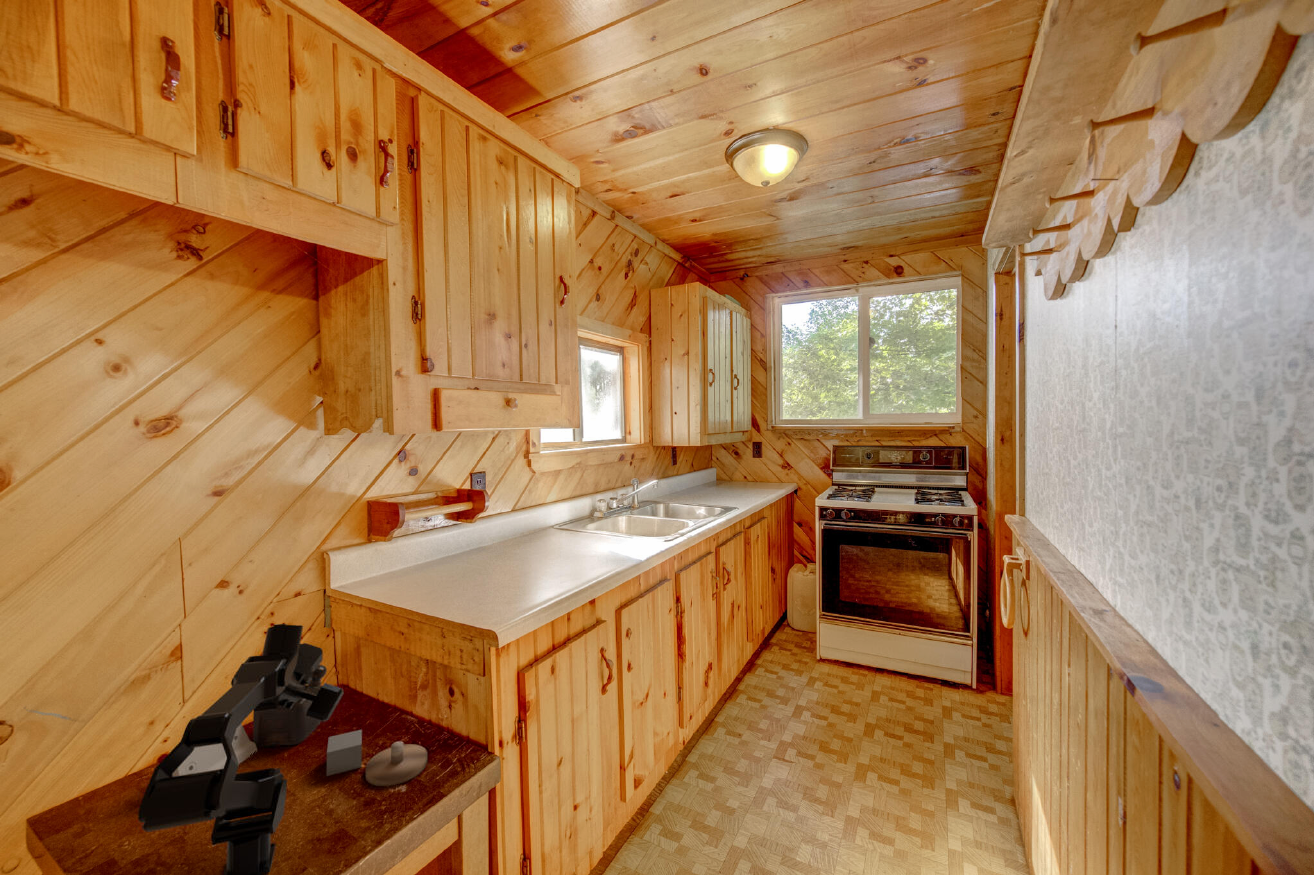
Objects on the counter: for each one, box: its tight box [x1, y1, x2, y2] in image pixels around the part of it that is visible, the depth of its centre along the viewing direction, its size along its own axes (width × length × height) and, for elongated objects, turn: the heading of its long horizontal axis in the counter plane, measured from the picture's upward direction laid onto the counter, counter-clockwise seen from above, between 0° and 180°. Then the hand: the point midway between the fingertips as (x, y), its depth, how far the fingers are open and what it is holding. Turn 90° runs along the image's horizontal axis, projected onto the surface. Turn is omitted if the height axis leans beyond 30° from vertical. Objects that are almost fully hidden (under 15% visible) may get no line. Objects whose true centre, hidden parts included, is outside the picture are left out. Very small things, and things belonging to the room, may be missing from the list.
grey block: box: [326, 729, 363, 777], centre depth 113 cm, size 6×6×5 cm
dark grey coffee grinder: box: [252, 664, 328, 748], centre depth 124 cm, size 16×11×18 cm
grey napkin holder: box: [170, 723, 258, 777], centre depth 110 cm, size 17×5×10 cm, turn 177°
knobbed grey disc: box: [365, 741, 428, 787], centre depth 112 cm, size 12×12×5 cm
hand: (301, 696), depth 111 cm, fingers open, 9 cm apart
